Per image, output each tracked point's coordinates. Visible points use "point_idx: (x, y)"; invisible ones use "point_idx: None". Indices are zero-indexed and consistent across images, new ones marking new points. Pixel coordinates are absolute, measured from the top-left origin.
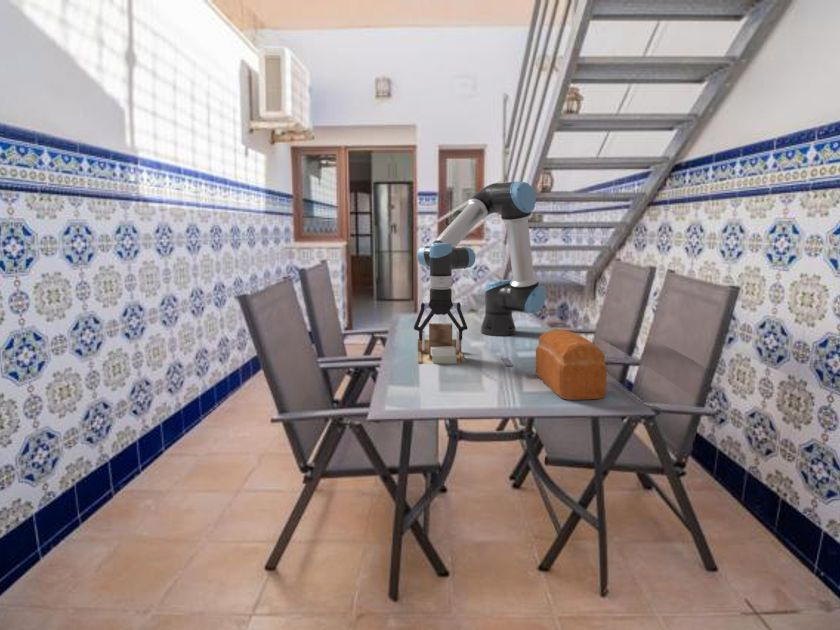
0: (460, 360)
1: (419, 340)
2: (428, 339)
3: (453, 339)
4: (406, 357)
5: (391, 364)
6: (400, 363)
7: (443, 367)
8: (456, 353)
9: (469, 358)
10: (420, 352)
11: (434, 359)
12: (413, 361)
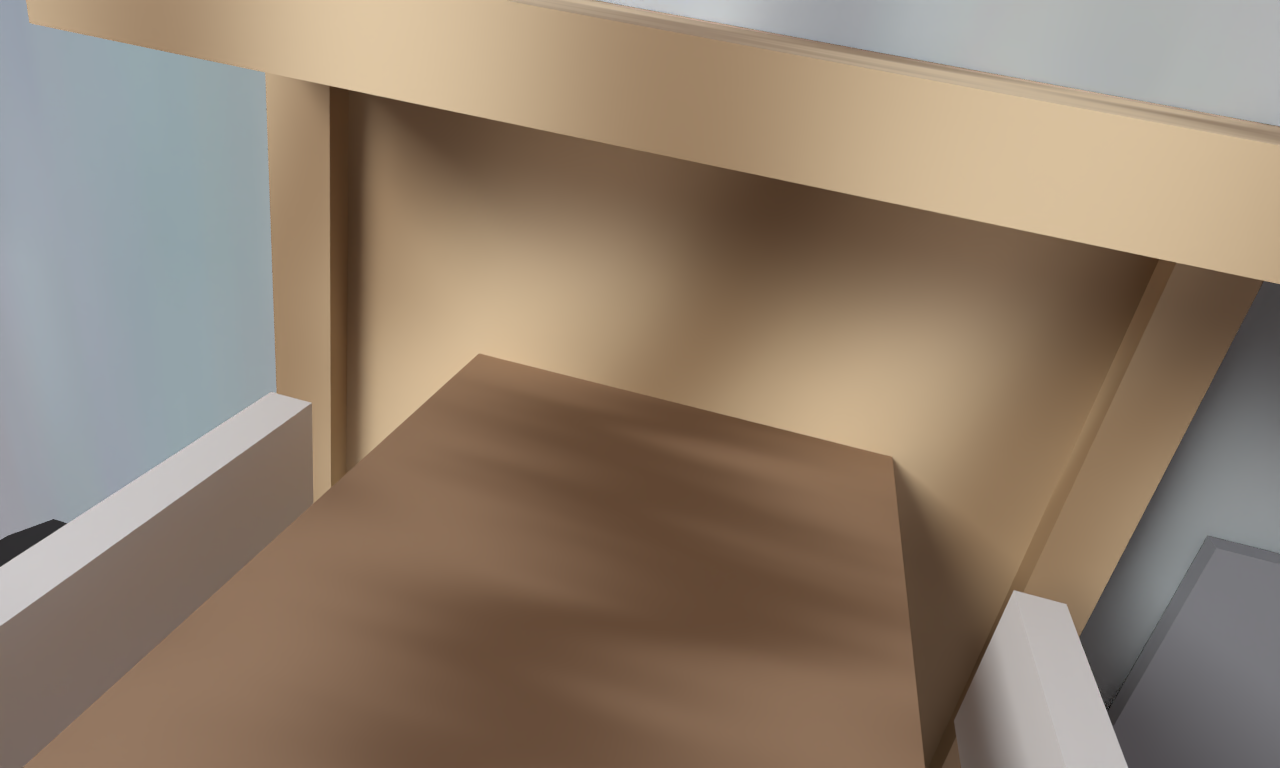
0: (940, 727)
1: (100, 35)
2: (334, 69)
3: (1190, 260)
4: (138, 109)
5: (5, 445)
6: (102, 434)
7: None
8: (1107, 264)
9: (1271, 482)
10: (319, 135)
11: None
12: (260, 387)
